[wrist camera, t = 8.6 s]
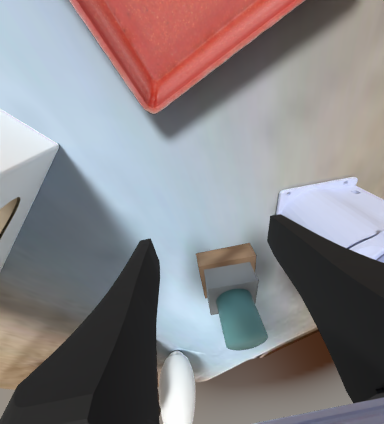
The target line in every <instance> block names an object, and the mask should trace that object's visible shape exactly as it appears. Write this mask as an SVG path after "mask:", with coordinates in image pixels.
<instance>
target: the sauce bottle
mask: <svg viewBox="0 0 384 424" xmlns="http://www.w3.org/2000/svg"><path fill="white" fill-rule="evenodd" d="M159 400H160V408H161V415H162V420H163V424H192V423H193V417H194V410H195V380H194V374H193V370H192V367H191V364H190V362H189V360H188V358H187V357H186V356H185V355H183V353H182V352H180V351H173V352H172V353H171V354H170V355H169V357H168V358H166V360H165V362H164V364H163V367H162V370H161V375H160V382H159Z"/></svg>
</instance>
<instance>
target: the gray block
mask: <svg viewBox="0 0 384 424" xmlns="http://www.w3.org/2000/svg"><path fill="white" fill-rule="evenodd" d="M204 275H205V283H206V291H207V298H208V303H209V308H210V314H211V315H214V314H219V312H218V308H217V304H216V300H217V298H218V297H219V296H220V295H221V294H222V293H224V292H226V291H228V290H232V289H245V290H248V291H249V292H250V293H251V296H252V298H253V301H254V303H255V302H256V295H257V288H258V282H259V280H258V278H257V276H256V274H255V272H254V270H253V268H252V266H251V263H250V262H246V263H240V264H234V265H228V266H222V267H216V268H211V269H205V270H204Z"/></svg>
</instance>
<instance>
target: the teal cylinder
mask: <svg viewBox="0 0 384 424" xmlns="http://www.w3.org/2000/svg"><path fill="white" fill-rule="evenodd" d="M216 304H217V308H218V312H219V317H220V321H221V325H222V330H223V334H224V338H225V343H226V347H227V348H228V349H231V350H246V349H250V348H254V347H256V346H259V345H260V344H262V343H264V342H265V341H266V340H267V338H268V335H267V332H266V330H265V328H264V325H263V323H262V320H261V318H260V315H259V313H258V310H257V308H256V306H255V303H254V301H253V298H252V296H251V293H250V292H249V291H248V290H245V289H232V290H228V291H226V292H224V293H222V294H221V295H220V296H219V297H218V298H217V300H216Z"/></svg>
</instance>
